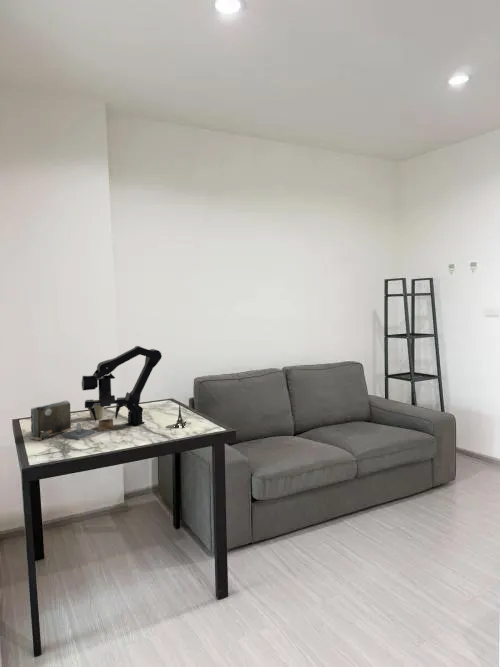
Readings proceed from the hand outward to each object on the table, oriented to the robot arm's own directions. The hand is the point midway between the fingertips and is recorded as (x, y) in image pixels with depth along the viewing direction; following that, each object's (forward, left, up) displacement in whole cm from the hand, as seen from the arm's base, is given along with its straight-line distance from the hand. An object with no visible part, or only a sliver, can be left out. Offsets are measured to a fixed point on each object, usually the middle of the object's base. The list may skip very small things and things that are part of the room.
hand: (106, 420), depth 230 cm
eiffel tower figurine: (-30, -18, -5) cm, 36 cm away
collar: (0, 0, -4) cm, 4 cm away
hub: (+3, +14, -4) cm, 15 cm away
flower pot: (+18, -12, -4) cm, 22 cm away
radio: (+17, +18, -4) cm, 25 cm away
